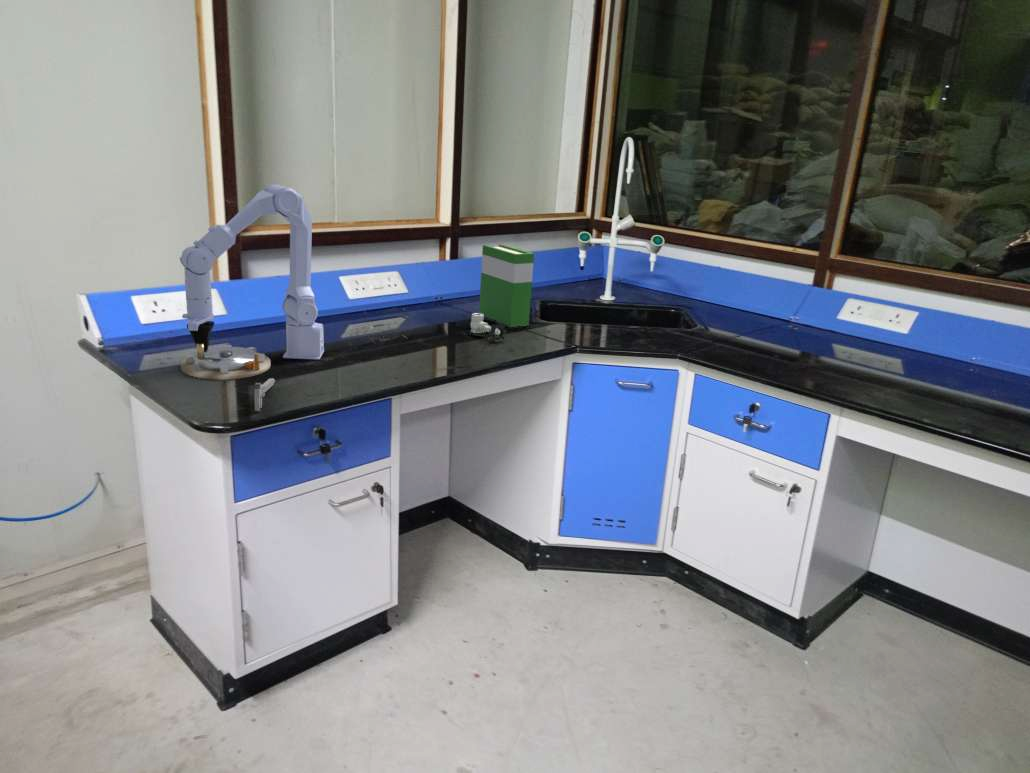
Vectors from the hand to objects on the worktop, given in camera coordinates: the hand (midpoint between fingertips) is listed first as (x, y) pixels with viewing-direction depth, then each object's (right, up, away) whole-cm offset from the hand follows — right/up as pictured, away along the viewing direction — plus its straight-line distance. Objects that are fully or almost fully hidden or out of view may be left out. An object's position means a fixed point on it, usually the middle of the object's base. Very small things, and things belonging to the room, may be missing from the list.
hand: (202, 351), depth 187 cm
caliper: (+20, -11, -14) cm, 27 cm away
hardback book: (+73, +13, +65) cm, 98 cm away
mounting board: (+5, -3, +3) cm, 7 cm away
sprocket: (+5, -2, +3) cm, 6 cm away
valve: (+68, +6, +44) cm, 81 cm away
